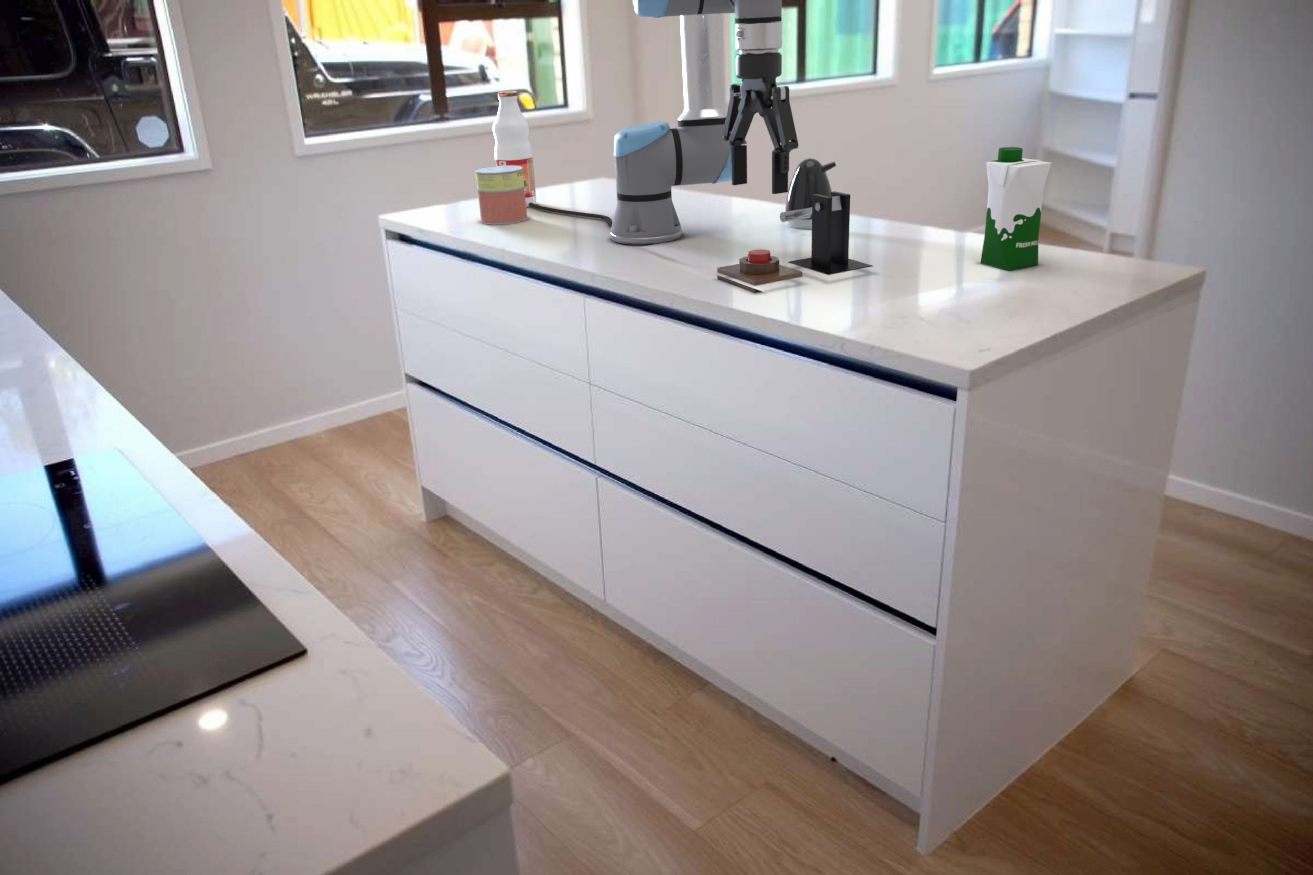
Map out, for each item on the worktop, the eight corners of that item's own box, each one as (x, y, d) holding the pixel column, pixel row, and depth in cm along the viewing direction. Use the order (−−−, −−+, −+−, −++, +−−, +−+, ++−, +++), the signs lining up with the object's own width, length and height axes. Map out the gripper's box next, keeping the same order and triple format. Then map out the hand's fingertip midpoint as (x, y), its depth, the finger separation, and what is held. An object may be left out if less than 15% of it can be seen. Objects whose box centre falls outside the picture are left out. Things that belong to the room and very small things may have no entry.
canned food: (536, 219, 239) (531, 168, 234) (493, 226, 233) (487, 174, 229) (514, 213, 248) (509, 164, 243) (473, 220, 242) (467, 169, 237)
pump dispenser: (833, 236, 207) (835, 161, 201) (783, 236, 209) (783, 162, 203) (835, 226, 216) (837, 154, 210) (787, 226, 218) (787, 155, 212)
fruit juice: (544, 203, 258) (534, 90, 247) (518, 210, 252) (506, 93, 241) (519, 201, 264) (508, 89, 253) (492, 207, 257) (480, 93, 246)
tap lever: (780, 224, 185) (778, 211, 185) (806, 220, 188) (804, 207, 188) (823, 212, 173) (821, 198, 173) (850, 208, 176) (848, 194, 176)
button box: (717, 279, 179) (716, 257, 177) (763, 271, 183) (763, 249, 182) (754, 293, 169) (754, 270, 168) (802, 284, 173) (802, 261, 172)
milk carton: (1008, 256, 185) (1019, 145, 177) (1046, 265, 178) (1059, 149, 170) (972, 263, 181) (981, 150, 174) (1010, 272, 174) (1021, 155, 166)
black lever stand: (787, 269, 183) (788, 193, 178) (830, 261, 188) (832, 187, 182) (827, 282, 174) (829, 202, 168) (872, 273, 178) (876, 195, 172)
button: (743, 261, 176) (743, 251, 175) (762, 258, 177) (762, 248, 177) (756, 265, 172) (755, 255, 172) (775, 262, 174) (775, 252, 173)
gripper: (700, 52, 169) (704, 183, 178) (782, 54, 150) (782, 200, 159) (737, 50, 173) (739, 178, 181) (822, 51, 153) (819, 194, 162)
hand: (759, 188), depth 170 cm, fingers open, 11 cm apart
